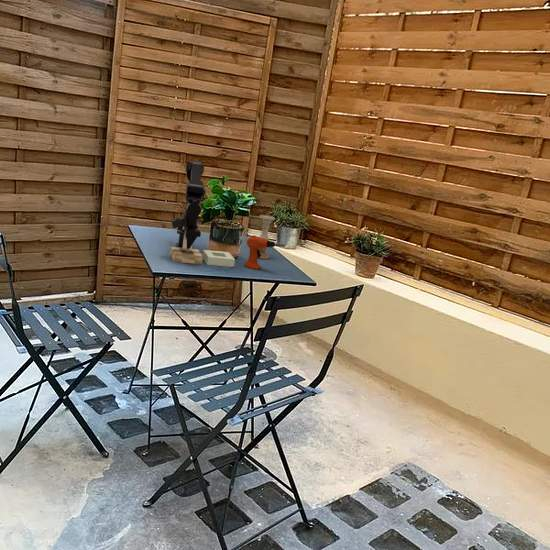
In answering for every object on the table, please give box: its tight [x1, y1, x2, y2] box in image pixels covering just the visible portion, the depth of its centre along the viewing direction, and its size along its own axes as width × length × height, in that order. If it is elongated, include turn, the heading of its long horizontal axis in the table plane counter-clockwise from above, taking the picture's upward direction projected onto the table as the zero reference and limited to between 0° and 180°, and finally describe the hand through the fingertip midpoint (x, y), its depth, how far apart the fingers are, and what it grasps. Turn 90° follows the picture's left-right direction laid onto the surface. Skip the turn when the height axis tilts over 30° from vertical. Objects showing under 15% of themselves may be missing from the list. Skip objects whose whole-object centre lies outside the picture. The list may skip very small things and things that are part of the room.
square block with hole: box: [201, 249, 236, 268], centre depth 243 cm, size 12×12×4 cm
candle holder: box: [258, 214, 276, 260], centre depth 265 cm, size 9×9×20 cm
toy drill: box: [243, 235, 286, 270], centre depth 241 cm, size 5×19×15 cm, turn 67°
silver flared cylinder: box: [182, 235, 193, 253], centre depth 237 cm, size 4×4×11 cm
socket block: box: [169, 246, 203, 265], centre depth 238 cm, size 12×12×4 cm
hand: (187, 247), depth 237 cm, fingers closed on silver flared cylinder, 4 cm apart
